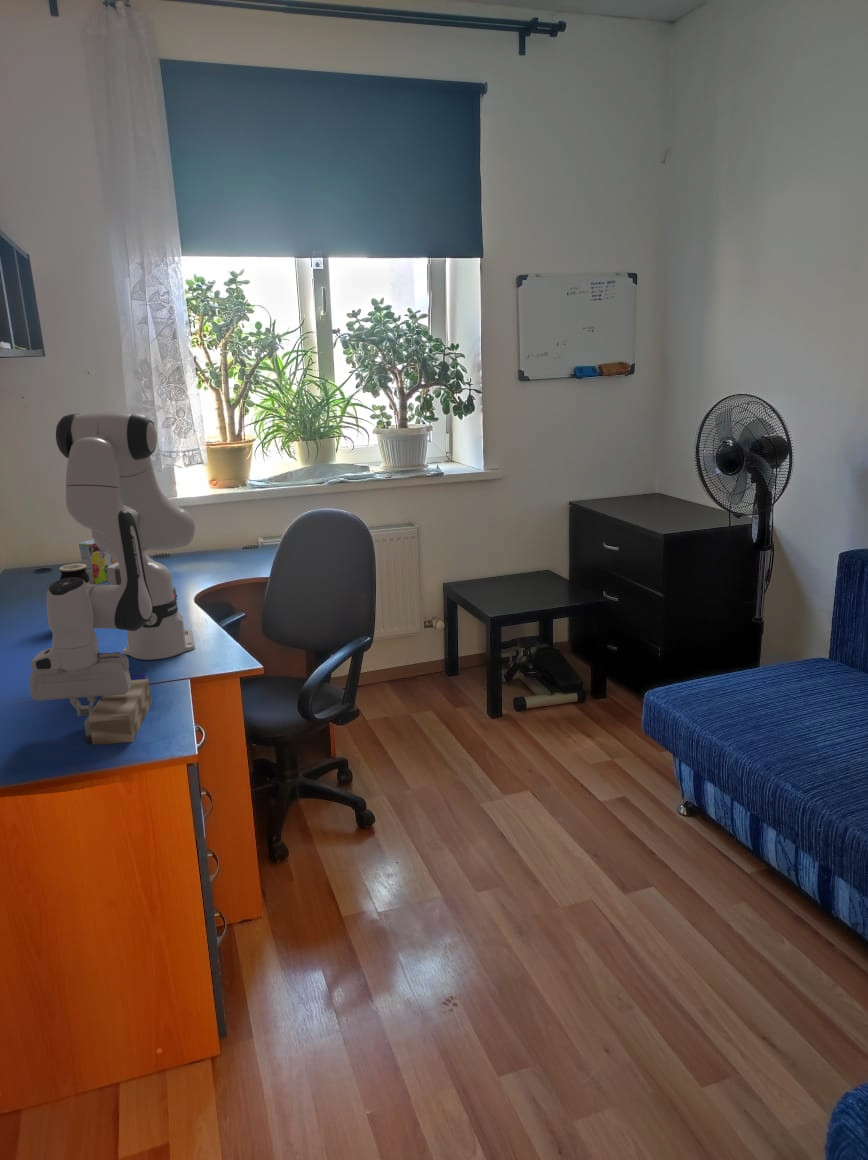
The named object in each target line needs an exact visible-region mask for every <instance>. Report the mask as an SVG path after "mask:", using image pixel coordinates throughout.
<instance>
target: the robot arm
mask: <svg viewBox="0 0 868 1160" xmlns="http://www.w3.org/2000/svg"><path fill="white" fill-rule="evenodd" d="M55 441H56V445H57V447H58V451H60V453H61V454H62V455H63V456H64V457H65V458H66V459H68V460H67V466H66V473H65V474H66V475H65V505H66V508H67V512H68V513H69V515H70V516H71V517H72V518H73V519H74V521H76V522H77V523H78V524H79V525H81V526H83V527H85V528H87V529H89V530H91V537H92V540H94V542H95V544H96V545H97V546H98V547H99V548H100V549H101V550H103V551H105V552H107V553H108V554H109V555H111V556H112V557H113V558H114V559H115V560H116V561H117V562H118V563H119V569H120V575H121V585H109V584H101V583H100V584H87V583H85V581H84V580H83V579H81V578H75V577H73V578H65V579H61V580H60V579H59V580H56V581H54V582H52V584H50V585H49V586H48V587H47V593H46V613H47V621H48V626H49V629H50V631H51V632H52V634H51V635H52V640H51V645H52V647H49V648H46V649H44V650H41V651H39V653H37V654H35V656H34V658H32V660H31V661H30V667H31V670H32V671H31V672H30V675H29V692H30V696H31V698H32V699H33V700H34V701H51V700H53V701H54V700H63V699H65V700H66V699H69V703H70V705H72V707H73V708H74V709H75V710H76V713H77V716H78V717H83V716H84V717H85V716H89V715H90V713H91V712H92V710H93V709H94V704H95V703H96V702H95V701H96V700H97V698H98V697H103V696H109V695H123V694H126V693H127V692H128V691H129V690H130V688H131V685H132V683H131V678H130V675H131V674H130V671H129V668H130V663H129V658H128V656H131V657H132V658H134V659H137V660H147V661H148V660H149V661H150V660H161V659H167V658H171V657H174V656H177V655H180V654H182V653H184V652H188V651H191V650H194V649H195V647H196V646H195V641H194V640H195V639H194V634H193V631H192V630H191V629H188V628H187V629H186V628H185V627H184V619H183V616H182V615H181V614H180V612H179V609H178V602H177V598H175V594H174V592H173V587H174V585H173V584H174V583H173V577H172V573H171V571H170V569H169V568H168V567H167V566H165V564H162V563H160V562H157V561H155V560H153V559H152V558H151V557H150V556H149V555H148V554H147V552H148V551H165V550H168V551H169V550H175V549H178V548H182V547H183V548H184V547H186V546H189V544H190V543H191V542H192V541H193V539H194V536H195V535H196V534H195V533H196V532H195V531H196V525H195V521H194V518H193V517H192V515H191V514H190V512H189V511H187V510H186V509H184V508H182V507H180V506H178V505H176V504H175V503H173V502H172V500H170V499H169V498H168V497H167V496H166V495H165V494H164V493H163V491H162V490H161V489H160V486H159V484H158V482H157V481H158V480H157V478H156V475H155V472H154V467H153V462H152V459H151V455H153V453H155V451H156V448H157V441H158V434H157V430H156V426H155V423H154V422H153V420H152V419H150V418H149V416H147V415H145V414H141V413H136V412H133V413H127V412H126V413H125V412H124V413H123V412H115V411H114V412H113V411H112V412H111V411H104V412H91V413H82V414H80V413H76V412H75V413H72V414H71V413H70V414H67V415H64V416H62V417H61V419H59V421H58V422H57V423H56V428H55ZM124 506H125V507H127V508H128V509H126V508H125V507H124ZM129 508H130V509H129ZM146 551H147V552H146ZM95 629H107V630H108V629H111V630H112V629H114V630H115V629H116V630H122V631H126V638H127V639H126V640H127V646H126V647H124V648H123V649H122V653H121V652H120V651H113V652H100V651H99V650H100V649H99V643H98V637H97V635H96V632H95ZM80 698H87V702H89V704H88V705H87V704H86V705H82V703H81V702H80V701H79V699H80Z"/></svg>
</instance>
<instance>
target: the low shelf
mask: <svg viewBox="0 0 868 1160" xmlns="http://www.w3.org/2000/svg"><path fill="white" fill-rule="evenodd" d="M131 683H132V685H131V688H130V690H129V691H128V692H127V693H126V694H123V695H109V696H101V699H99V700H100V702H99V703H98V702H97V703H98V705H97V706H96V705H95V706H96V708H95V709H94V708H93V709H94V711H93V712H92V714H91V716H90V717H89V724H90V731H91V735H88V736H86V735H85V742H86V743H89V742H91V744H92V746H95V745H96V746H97V745H99V746H100V745H111V744H122V743H124V744H125V743H133V742H134V739H135V737H136V736H137V734H138V731H139V729H140V728H141V725H142V723H143V722H144V720H145V718H146V715H147V713H148V712H149V710H150V707H151V706H152V697H151V696H152V695H151V689H150V680H149V678H147V679H141V680H131Z"/></svg>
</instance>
